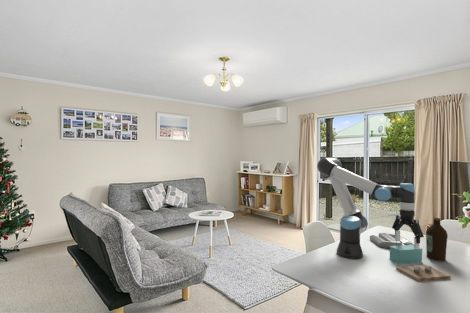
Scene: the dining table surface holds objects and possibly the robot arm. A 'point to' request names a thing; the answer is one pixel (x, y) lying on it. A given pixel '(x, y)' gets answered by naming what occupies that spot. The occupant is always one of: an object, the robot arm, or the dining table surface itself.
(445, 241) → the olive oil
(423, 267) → the seat
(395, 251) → the teal rectangular block
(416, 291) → the dining table surface
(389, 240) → the emblem
